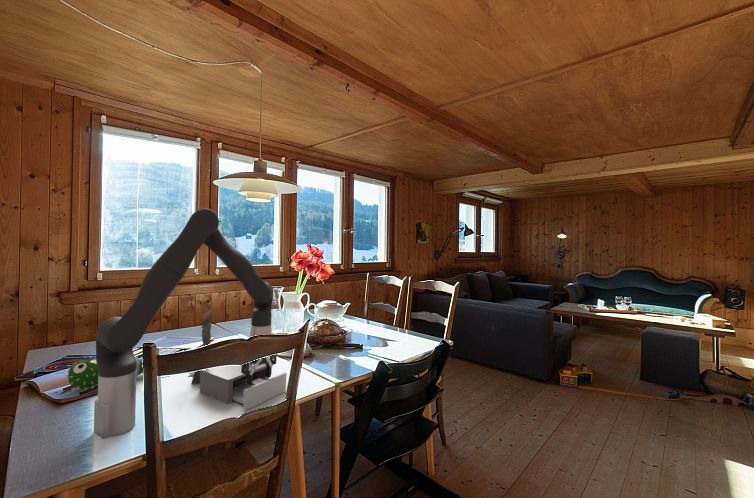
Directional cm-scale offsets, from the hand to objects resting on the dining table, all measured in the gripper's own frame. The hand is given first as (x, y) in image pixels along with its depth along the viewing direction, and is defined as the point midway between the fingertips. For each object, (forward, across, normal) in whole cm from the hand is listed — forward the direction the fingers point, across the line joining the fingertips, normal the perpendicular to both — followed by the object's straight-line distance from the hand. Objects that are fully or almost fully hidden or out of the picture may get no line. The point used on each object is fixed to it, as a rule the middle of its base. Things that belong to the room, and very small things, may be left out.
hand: (259, 380), depth 128 cm
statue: (+7, -2, +30) cm, 31 cm away
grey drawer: (+6, 0, +4) cm, 7 cm away
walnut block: (+5, 0, 0) cm, 5 cm away
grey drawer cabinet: (+6, 0, +13) cm, 15 cm away
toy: (+7, -22, +55) cm, 59 cm away
